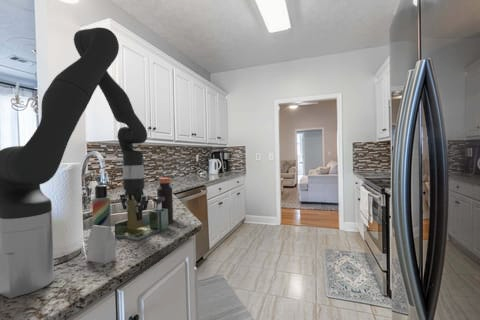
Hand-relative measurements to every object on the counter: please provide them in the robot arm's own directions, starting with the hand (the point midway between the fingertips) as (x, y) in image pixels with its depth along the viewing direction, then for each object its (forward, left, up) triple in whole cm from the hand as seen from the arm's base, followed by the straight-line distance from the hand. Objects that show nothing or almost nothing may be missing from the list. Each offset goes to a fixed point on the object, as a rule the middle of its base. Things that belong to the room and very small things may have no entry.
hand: (135, 220), depth 90 cm
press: (+3, -1, -5) cm, 6 cm away
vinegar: (+19, +2, -6) cm, 20 cm away
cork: (0, 0, -3) cm, 3 cm away
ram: (+8, -5, 0) cm, 9 cm away
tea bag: (-20, -9, -6) cm, 23 cm away
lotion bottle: (-8, +8, -6) cm, 13 cm away
